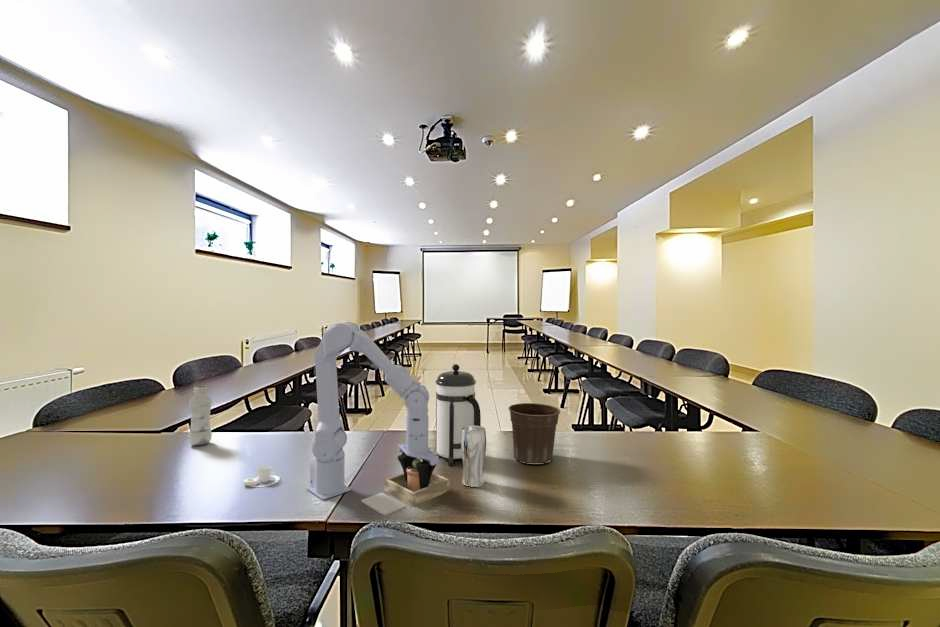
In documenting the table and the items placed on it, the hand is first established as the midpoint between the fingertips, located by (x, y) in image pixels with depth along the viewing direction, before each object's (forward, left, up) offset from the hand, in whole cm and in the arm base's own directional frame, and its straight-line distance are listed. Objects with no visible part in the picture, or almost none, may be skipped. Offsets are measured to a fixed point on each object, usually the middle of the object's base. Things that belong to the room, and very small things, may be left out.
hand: (417, 484), depth 109 cm
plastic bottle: (-81, -30, -2) cm, 86 cm away
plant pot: (+8, +41, -2) cm, 42 cm away
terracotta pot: (0, 0, -2) cm, 2 cm away
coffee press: (-9, +24, -2) cm, 26 cm away
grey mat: (0, -11, -2) cm, 11 cm away
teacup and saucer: (-37, -27, -2) cm, 46 cm away
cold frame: (0, 0, -2) cm, 2 cm away
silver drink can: (+7, +14, -2) cm, 16 cm away
